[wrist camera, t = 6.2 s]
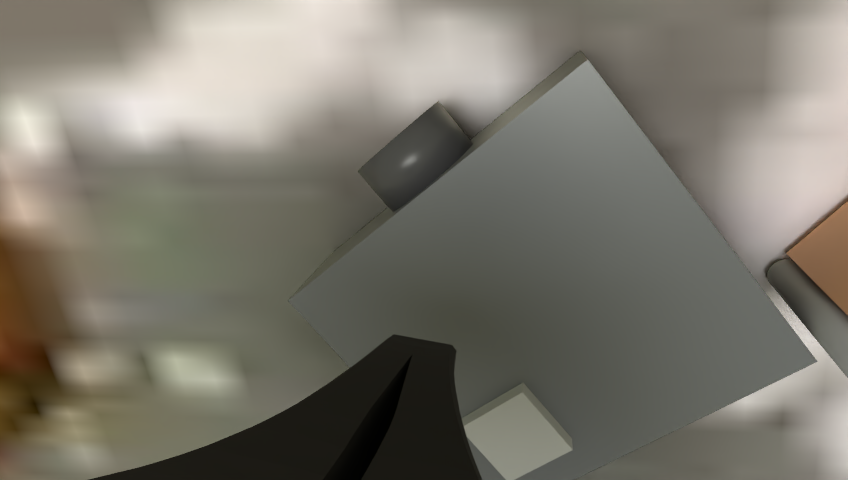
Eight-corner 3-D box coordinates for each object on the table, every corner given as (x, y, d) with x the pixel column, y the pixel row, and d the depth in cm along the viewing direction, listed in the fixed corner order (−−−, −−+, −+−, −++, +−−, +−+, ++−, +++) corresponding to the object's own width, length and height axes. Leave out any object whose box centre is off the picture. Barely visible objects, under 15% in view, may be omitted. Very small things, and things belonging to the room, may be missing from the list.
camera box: (765, 294, 19) (825, 372, 15) (500, 440, 23) (489, 532, 19) (547, 7, 17) (546, 4, 13) (303, 220, 21) (244, 268, 17)
